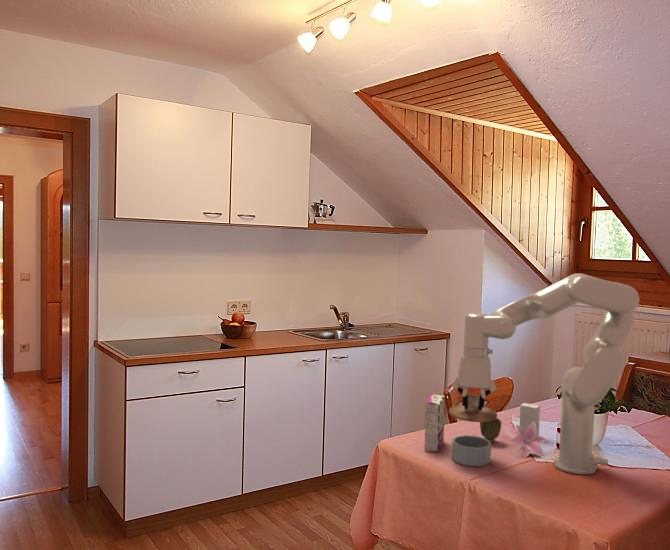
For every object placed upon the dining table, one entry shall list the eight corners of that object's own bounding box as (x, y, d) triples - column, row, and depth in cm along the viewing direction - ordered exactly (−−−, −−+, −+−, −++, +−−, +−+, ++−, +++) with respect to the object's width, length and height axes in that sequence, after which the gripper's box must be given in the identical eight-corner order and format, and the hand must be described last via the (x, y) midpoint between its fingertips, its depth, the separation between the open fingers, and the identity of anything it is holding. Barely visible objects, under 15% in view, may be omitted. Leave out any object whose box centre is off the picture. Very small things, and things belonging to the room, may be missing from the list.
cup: (502, 446, 213) (504, 423, 213) (481, 445, 214) (482, 422, 213) (497, 438, 221) (498, 416, 220) (476, 438, 221) (477, 416, 220)
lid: (495, 409, 205) (496, 392, 204) (498, 423, 190) (499, 404, 189) (449, 406, 207) (449, 388, 207) (448, 419, 193) (449, 400, 192)
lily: (503, 457, 206) (513, 437, 201) (506, 434, 216) (516, 414, 211) (538, 472, 204) (550, 452, 199) (540, 447, 214) (551, 428, 209)
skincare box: (538, 438, 223) (540, 405, 222) (535, 441, 219) (537, 408, 218) (521, 434, 226) (523, 402, 225) (518, 438, 222) (520, 405, 221)
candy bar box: (429, 439, 218) (431, 393, 217) (443, 441, 216) (445, 395, 215) (423, 450, 207) (425, 402, 206) (438, 452, 206) (440, 403, 205)
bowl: (488, 455, 205) (489, 437, 204) (491, 468, 193) (492, 449, 192) (451, 451, 207) (452, 434, 206) (451, 465, 195) (452, 446, 195)
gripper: (501, 351, 199) (499, 407, 201) (448, 348, 202) (446, 403, 204) (503, 356, 192) (500, 414, 193) (448, 352, 195) (446, 410, 196)
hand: (473, 408), depth 199 cm, fingers closed on lid, 4 cm apart
